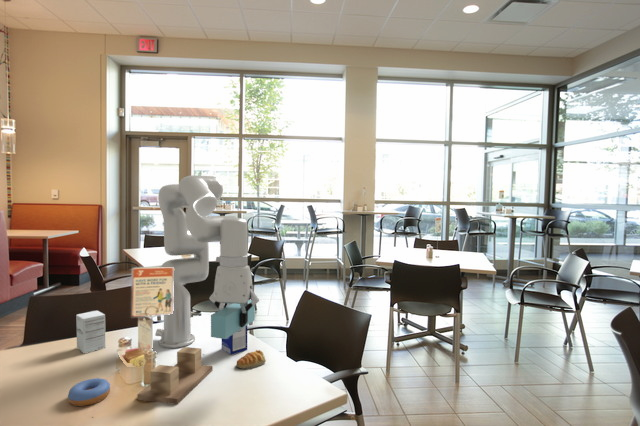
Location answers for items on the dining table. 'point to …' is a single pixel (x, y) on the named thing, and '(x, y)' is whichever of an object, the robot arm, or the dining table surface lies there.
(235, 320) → the pale blue rectangular prism
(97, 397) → the doughnut
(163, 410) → the dining table surface
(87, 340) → the supplement box
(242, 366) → the pastry
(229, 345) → the milk carton
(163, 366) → the display stand
